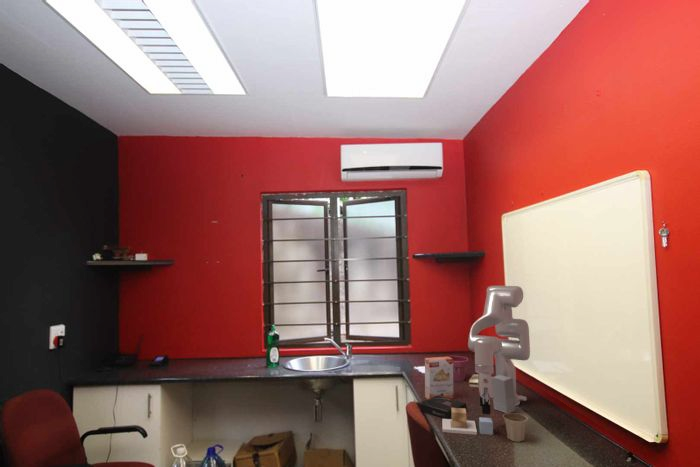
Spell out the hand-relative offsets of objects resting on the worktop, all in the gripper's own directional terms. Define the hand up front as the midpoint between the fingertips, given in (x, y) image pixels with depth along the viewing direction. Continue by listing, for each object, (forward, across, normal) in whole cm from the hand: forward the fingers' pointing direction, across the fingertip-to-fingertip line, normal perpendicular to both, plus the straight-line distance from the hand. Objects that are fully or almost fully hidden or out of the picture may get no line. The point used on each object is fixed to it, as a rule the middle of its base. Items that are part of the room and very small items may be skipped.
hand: (485, 410), depth 175 cm
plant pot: (+7, +79, +9) cm, 80 cm away
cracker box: (+8, +41, +19) cm, 46 cm away
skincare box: (+8, +29, -11) cm, 32 cm away
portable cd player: (+9, +23, +18) cm, 30 cm away
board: (+9, +3, +11) cm, 14 cm away
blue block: (+9, +1, 0) cm, 9 cm away
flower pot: (+9, -4, -11) cm, 15 cm away
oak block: (+8, +3, +11) cm, 14 cm away
